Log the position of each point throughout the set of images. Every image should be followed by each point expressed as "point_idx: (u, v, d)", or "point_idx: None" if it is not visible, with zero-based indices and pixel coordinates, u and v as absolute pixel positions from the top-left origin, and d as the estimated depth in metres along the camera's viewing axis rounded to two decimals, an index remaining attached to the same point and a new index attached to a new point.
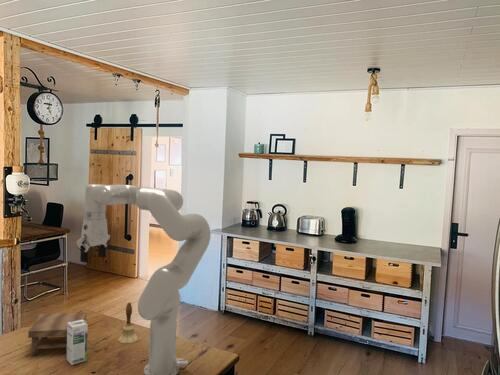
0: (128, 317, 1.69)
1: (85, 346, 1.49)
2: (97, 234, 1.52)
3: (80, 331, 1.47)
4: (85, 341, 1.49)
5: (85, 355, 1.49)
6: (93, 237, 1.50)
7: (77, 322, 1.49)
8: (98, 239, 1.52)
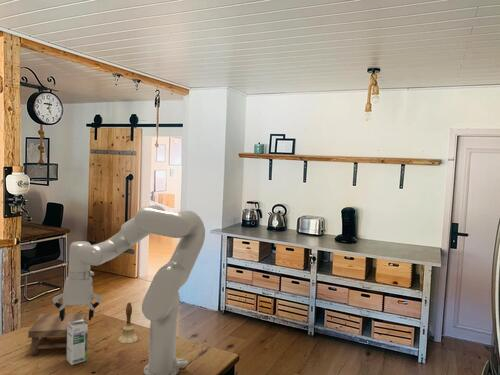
0: (128, 317, 1.69)
1: (85, 346, 1.49)
2: None
3: (80, 331, 1.47)
4: (85, 341, 1.49)
5: (85, 355, 1.49)
6: None
7: (77, 322, 1.49)
8: None
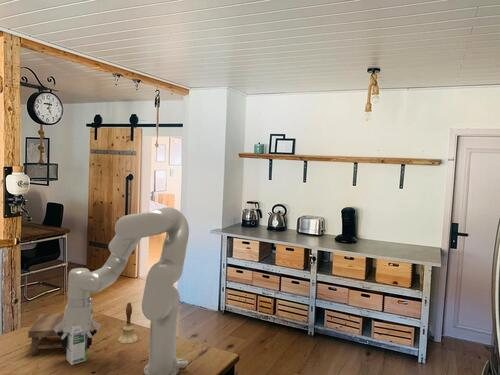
0: (128, 317, 1.69)
1: (85, 346, 1.49)
2: None
3: (80, 331, 1.47)
4: (85, 341, 1.49)
5: (85, 355, 1.49)
6: None
7: None
8: None
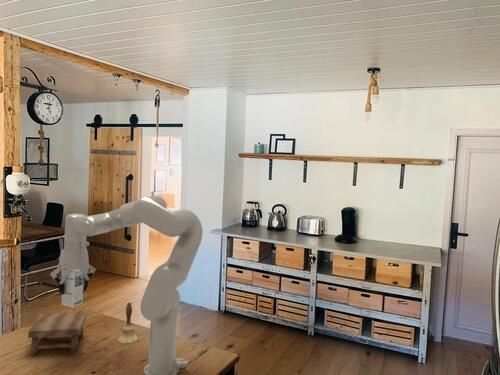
0: (128, 317, 1.69)
1: (83, 289, 1.53)
2: None
3: (80, 274, 1.51)
4: (83, 284, 1.53)
5: (83, 297, 1.53)
6: None
7: None
8: None
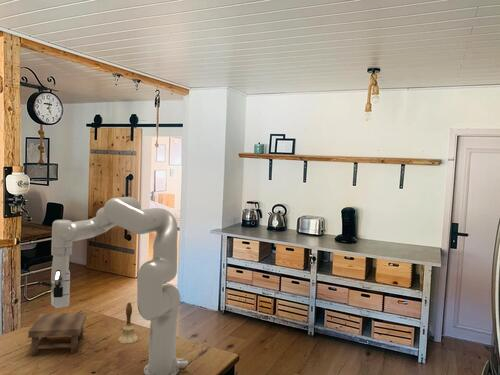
0: (128, 317, 1.69)
1: None
2: None
3: None
4: None
5: None
6: None
7: None
8: None
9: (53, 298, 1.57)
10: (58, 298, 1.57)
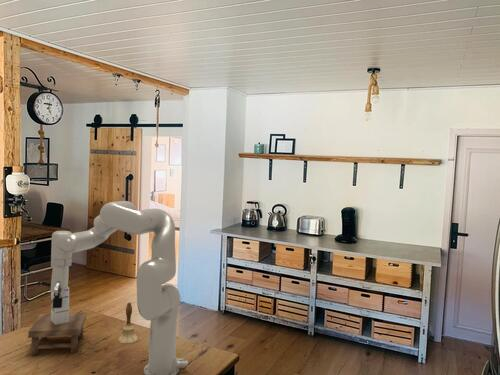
0: (128, 317, 1.69)
1: None
2: None
3: None
4: None
5: None
6: None
7: None
8: None
9: (53, 314, 1.57)
10: (57, 314, 1.57)
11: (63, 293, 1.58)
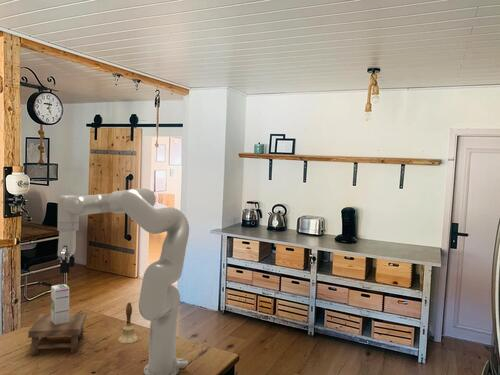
0: (128, 317, 1.69)
1: None
2: None
3: None
4: None
5: None
6: None
7: (60, 286, 1.59)
8: None
9: (53, 314, 1.57)
10: (57, 314, 1.57)
11: (63, 293, 1.58)
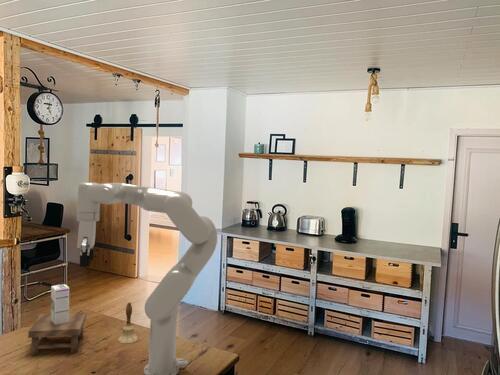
0: (128, 317, 1.69)
1: None
2: None
3: None
4: None
5: None
6: None
7: (60, 286, 1.59)
8: None
9: (53, 314, 1.57)
10: (57, 314, 1.57)
11: (63, 293, 1.58)
